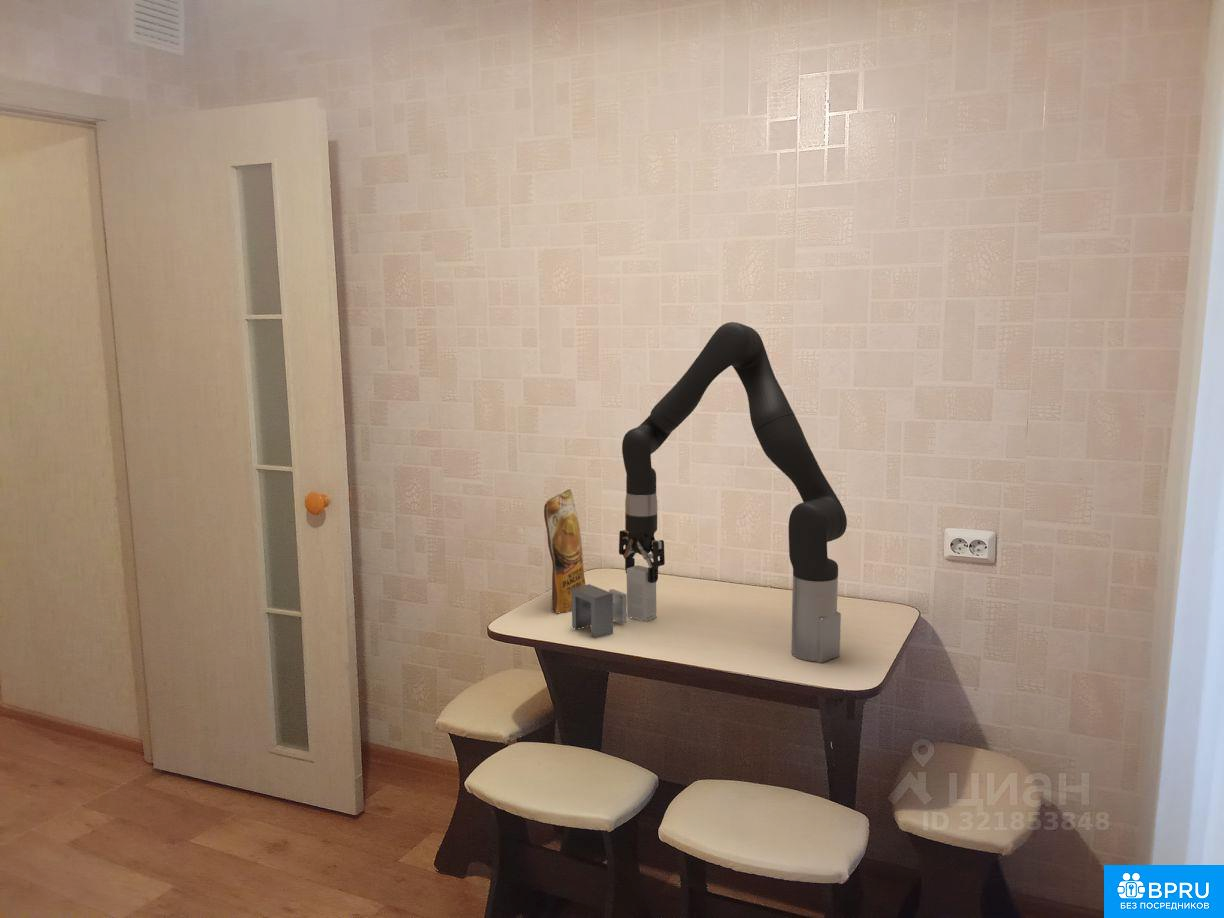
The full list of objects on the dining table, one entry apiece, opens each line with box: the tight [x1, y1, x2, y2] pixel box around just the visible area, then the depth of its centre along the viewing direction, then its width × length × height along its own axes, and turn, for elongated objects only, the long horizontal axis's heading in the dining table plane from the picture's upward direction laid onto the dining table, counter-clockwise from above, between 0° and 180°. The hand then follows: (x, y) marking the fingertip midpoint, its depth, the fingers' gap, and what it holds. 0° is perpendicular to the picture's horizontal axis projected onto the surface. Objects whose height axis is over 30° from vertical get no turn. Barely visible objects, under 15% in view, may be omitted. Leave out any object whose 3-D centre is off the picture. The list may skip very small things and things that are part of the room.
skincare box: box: [626, 565, 657, 623], centre depth 218 cm, size 6×4×12 cm
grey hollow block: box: [571, 583, 614, 640], centre depth 213 cm, size 12×11×10 cm
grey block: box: [608, 588, 628, 625], centre depth 215 cm, size 10×6×7 cm, turn 37°
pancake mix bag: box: [543, 489, 587, 615], centre depth 227 cm, size 7×19×28 cm, turn 156°
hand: (641, 577), depth 218 cm, fingers open, 8 cm apart
